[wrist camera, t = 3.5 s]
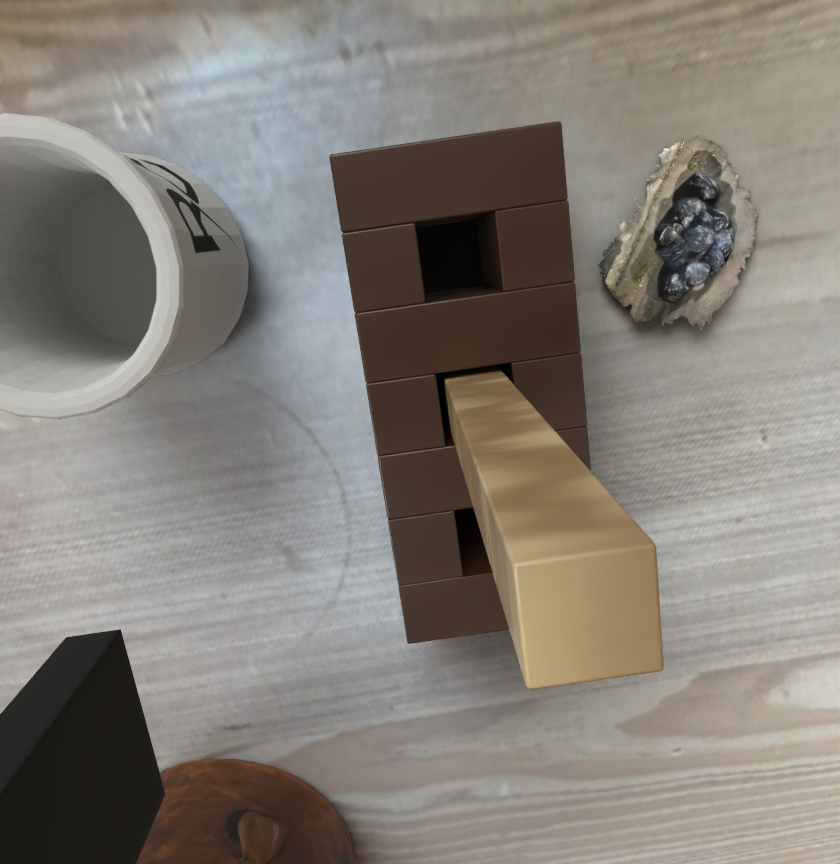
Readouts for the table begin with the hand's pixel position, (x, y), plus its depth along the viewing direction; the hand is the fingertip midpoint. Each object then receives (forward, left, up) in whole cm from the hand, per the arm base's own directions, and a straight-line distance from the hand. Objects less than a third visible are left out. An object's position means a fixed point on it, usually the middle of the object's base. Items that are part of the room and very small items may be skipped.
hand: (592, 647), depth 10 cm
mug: (+14, -8, -23) cm, 28 cm away
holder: (0, 0, -23) cm, 23 cm away
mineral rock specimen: (-10, -5, -23) cm, 26 cm away
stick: (0, 0, -23) cm, 23 cm away
